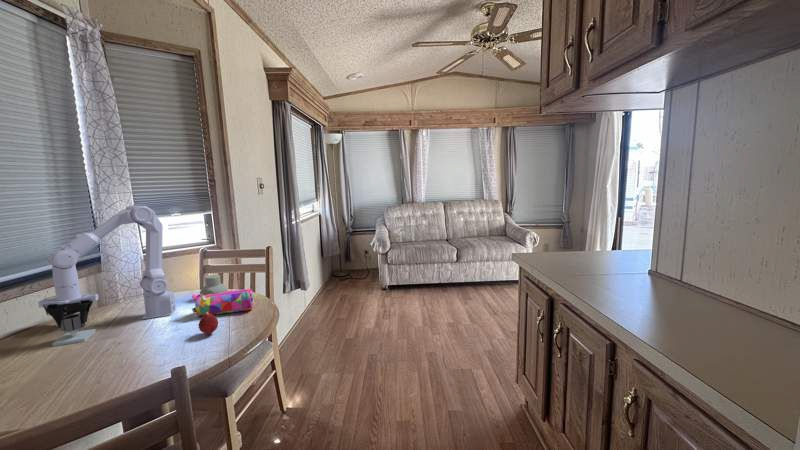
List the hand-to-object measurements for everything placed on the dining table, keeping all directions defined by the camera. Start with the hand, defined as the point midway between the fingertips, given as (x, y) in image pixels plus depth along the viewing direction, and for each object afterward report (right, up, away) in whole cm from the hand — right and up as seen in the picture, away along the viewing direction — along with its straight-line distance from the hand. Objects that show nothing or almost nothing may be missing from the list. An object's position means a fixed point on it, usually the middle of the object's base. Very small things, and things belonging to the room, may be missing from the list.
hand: (73, 323), depth 110 cm
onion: (+45, -5, +2) cm, 45 cm away
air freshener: (+25, 0, +39) cm, 47 cm away
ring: (0, -1, 0) cm, 1 cm away
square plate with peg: (0, -5, +1) cm, 5 cm away
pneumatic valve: (-14, -4, +12) cm, 19 cm away
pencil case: (+40, -2, +21) cm, 46 cm away
